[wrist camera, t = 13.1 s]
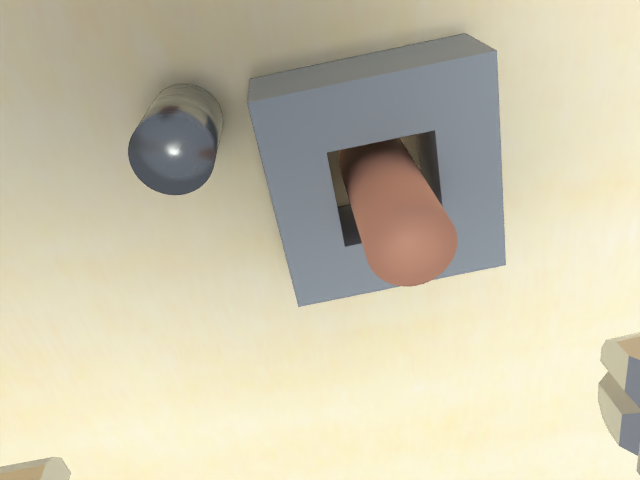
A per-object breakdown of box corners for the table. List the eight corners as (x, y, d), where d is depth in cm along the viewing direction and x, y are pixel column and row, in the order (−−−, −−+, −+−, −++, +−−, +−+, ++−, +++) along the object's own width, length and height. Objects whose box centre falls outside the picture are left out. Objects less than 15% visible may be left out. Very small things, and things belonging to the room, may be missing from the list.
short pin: (163, 159, 34) (144, 202, 29) (140, 91, 32) (115, 124, 27) (230, 145, 34) (224, 185, 29) (212, 76, 32) (201, 106, 27)
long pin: (344, 195, 36) (372, 294, 26) (333, 134, 34) (358, 215, 25) (409, 182, 36) (460, 276, 26) (400, 119, 34) (453, 196, 24)
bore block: (294, 262, 38) (298, 306, 34) (250, 78, 32) (247, 102, 28) (477, 225, 38) (505, 264, 33) (465, 33, 32) (496, 50, 28)
